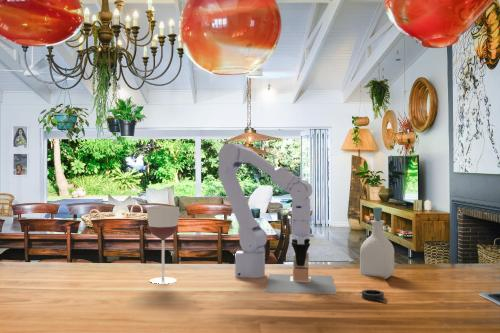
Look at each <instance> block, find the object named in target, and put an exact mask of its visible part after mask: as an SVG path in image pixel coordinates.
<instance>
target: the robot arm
mask: <svg viewBox="0 0 500 333" xmlns="http://www.w3.org/2000/svg"><path fill="white" fill-rule="evenodd" d="M217 157H218V171H217V172H218V173H217V174H218V178H219V180H220V182H221V185H222V188H223V189H224V192H225V194H226V197H227V200H228V202H229V203H230V207H231V209H232V211H233V213H234V217H235V219H236V222H237V224H238V230H237V233H238V236H239V245H240V247H241V248H242V250H236V252H235V260H234V261H235V267H234V268H235V269H234V274H235V275H234V276H235V277H236V278H252V279H256V278H257V279H258V278H262V277H265V274H266V273H265V272H266V271H265V270H266V268H265V267H266V266H265V265H266V260H265V259H266V248H265V245H266V244H267V242H268V235H267V232H266V231H265V230H264V229H263V228H262V227H261V225H260V223H259V222H258V221H257V220H256V219H255V218H254V215H253V212H252V210H251V208H250V205H249V203H248V201H247V199H246V196H245V193H244V191H243V189H242V186H241V184H240V181H239V179H238V177H237V172H238V171H239V168H240V167H241V166H242V165H243V163H246V164H250V165H252V166H254V167H255V168H257V169H259V170H261V171H262V172H263V173H265V174H267V175H269V176H270V180H271V183H273V184H275V185H276V186H277V187H279V188H281V189H282V190H283V191H285V192H287V193H289V196H290V198H292V199H291V233H290V237H291V238H292V239H291V246H292V248H293V251H294V252H293V253H295V256H296V263H297V266H304V264H305V259H306V254H307V253H308V250H309V248H310V246H311V243H310V238H314V236H315V234H314V233H311V195H312V193H313V187H312V185H311V184H310V182H308V180H303V179H302V177H301V176H299V175H298V176H297V175H295V174H293V173H292V172H291V171H289V170H290V169H289V168H288V167H287V166H285V167H284V166H278V167H277V166H275V165H273V164H272V163H271V162H269V161H268V160H266V159H265V158H264V157H263V156H261V155H260V154H259V153H257V152H256V151H255V150H253V149H251V148H249V147H246V146H245V144H243V143H231V142H228V143H224V144H223V145H222V146H221V148H220V150H219V152H218V154H217Z"/></svg>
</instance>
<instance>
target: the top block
mask: <svg viewBox="0 0 500 333" xmlns="http://www.w3.org/2000/svg"><path fill="white" fill-rule="evenodd" d="M309 260H310V257H309V252H307V254H306V259H305V264H304V266H297V263H296V256H295V252H293V260H292V261H293V263H292V264H293V265H292V266H293V267H308V268H310V267H309V262H310V261H309ZM293 267H292V268H293Z"/></svg>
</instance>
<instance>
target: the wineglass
mask: <svg viewBox="0 0 500 333" xmlns="http://www.w3.org/2000/svg"><path fill="white" fill-rule="evenodd" d="M146 214H147V216H146V217H147V223H148V228H149V232H150V234H152V236H154V237H156V238H158V239H160V240H161V277H154V278H151V279H149V280H148V282H149V281H150V282H152V283H151V284H154V283H157V284H156V285H167V284H168V283H169V284H173V283H176V282H177V280H178V279H177V278H174V277H169V276H165V247H166V246H165V240H166V239H168V238H169V237H171V236H173V235H174V234H175V233H176V232H177V229H178V223H179V217H180V207H179V206H176V205H175V206H174V205H173V206H172V205H161V206H160V205H157V206H147V207H146ZM150 282H149V283H150ZM158 283H159V284H158Z"/></svg>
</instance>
